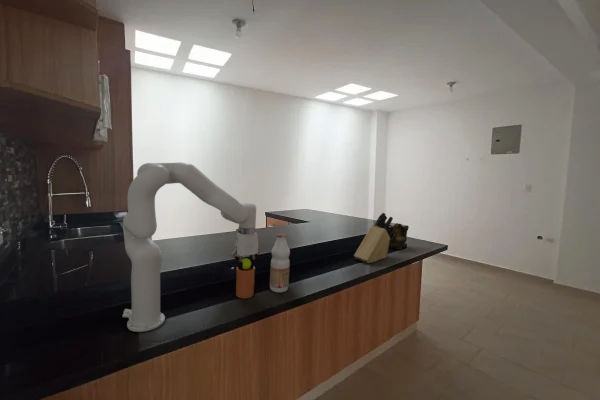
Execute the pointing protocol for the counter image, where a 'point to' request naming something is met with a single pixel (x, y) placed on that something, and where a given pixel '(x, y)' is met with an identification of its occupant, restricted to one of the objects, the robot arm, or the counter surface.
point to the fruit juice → (280, 265)
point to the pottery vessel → (398, 236)
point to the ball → (246, 263)
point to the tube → (245, 282)
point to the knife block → (376, 241)
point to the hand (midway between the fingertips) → (245, 268)
